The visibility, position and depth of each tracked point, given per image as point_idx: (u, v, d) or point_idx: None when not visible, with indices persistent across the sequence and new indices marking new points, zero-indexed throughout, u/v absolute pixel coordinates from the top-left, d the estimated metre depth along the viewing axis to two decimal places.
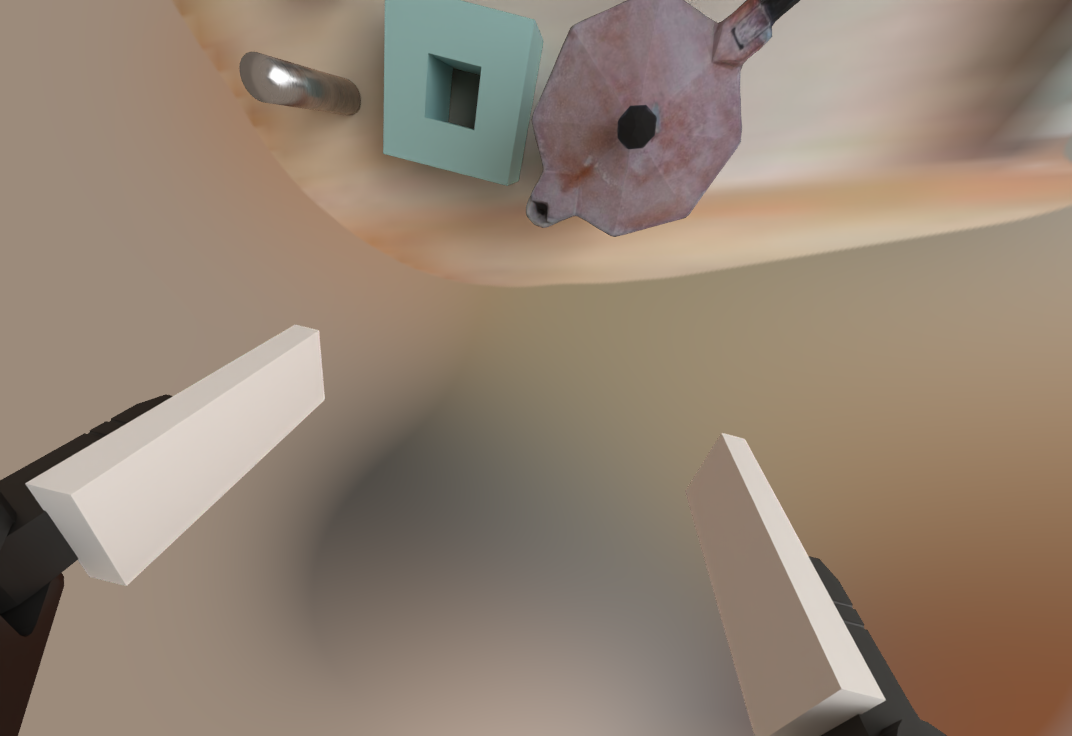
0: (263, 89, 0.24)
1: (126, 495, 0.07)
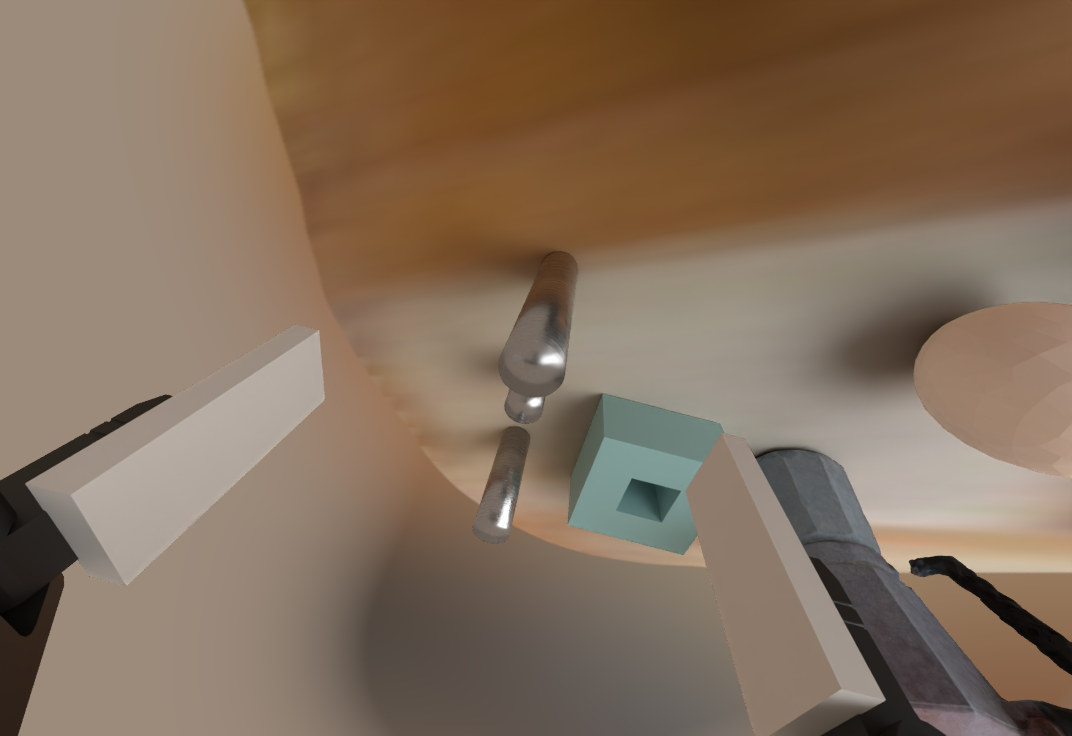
0: (491, 537, 0.27)
1: (126, 495, 0.07)
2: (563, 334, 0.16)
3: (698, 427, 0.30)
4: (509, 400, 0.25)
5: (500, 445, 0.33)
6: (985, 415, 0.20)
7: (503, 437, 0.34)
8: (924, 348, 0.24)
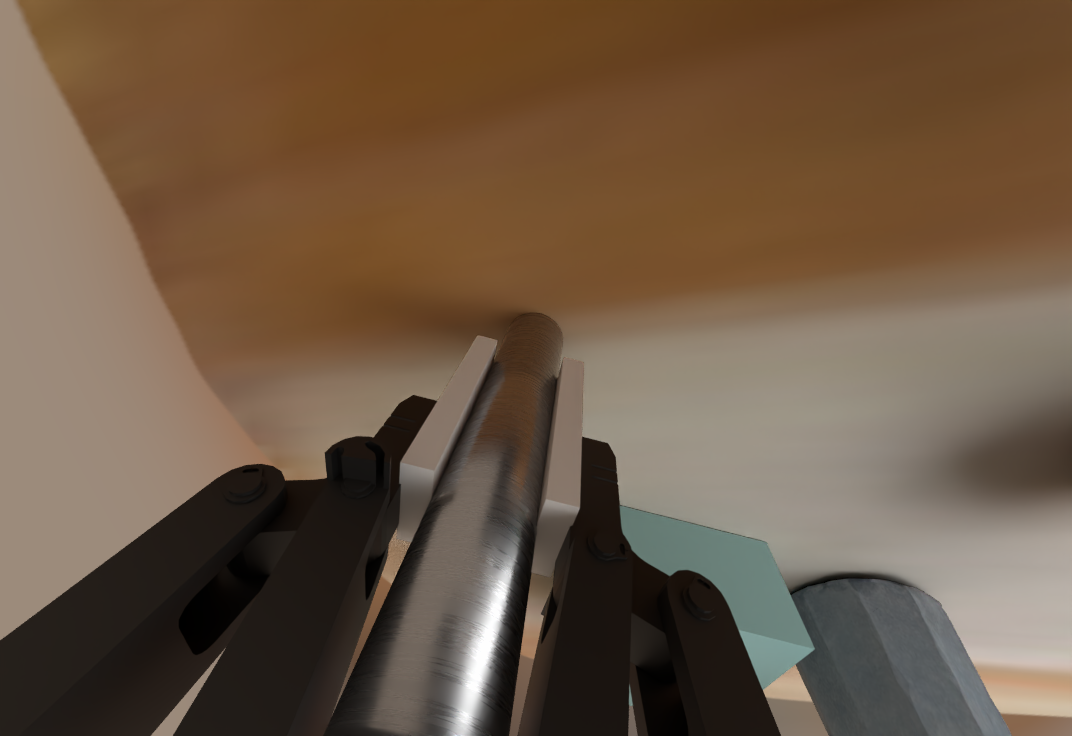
0: None
1: (441, 473, 0.09)
2: (509, 609, 0.06)
3: (739, 555, 0.21)
4: None
5: None
6: None
7: None
8: None
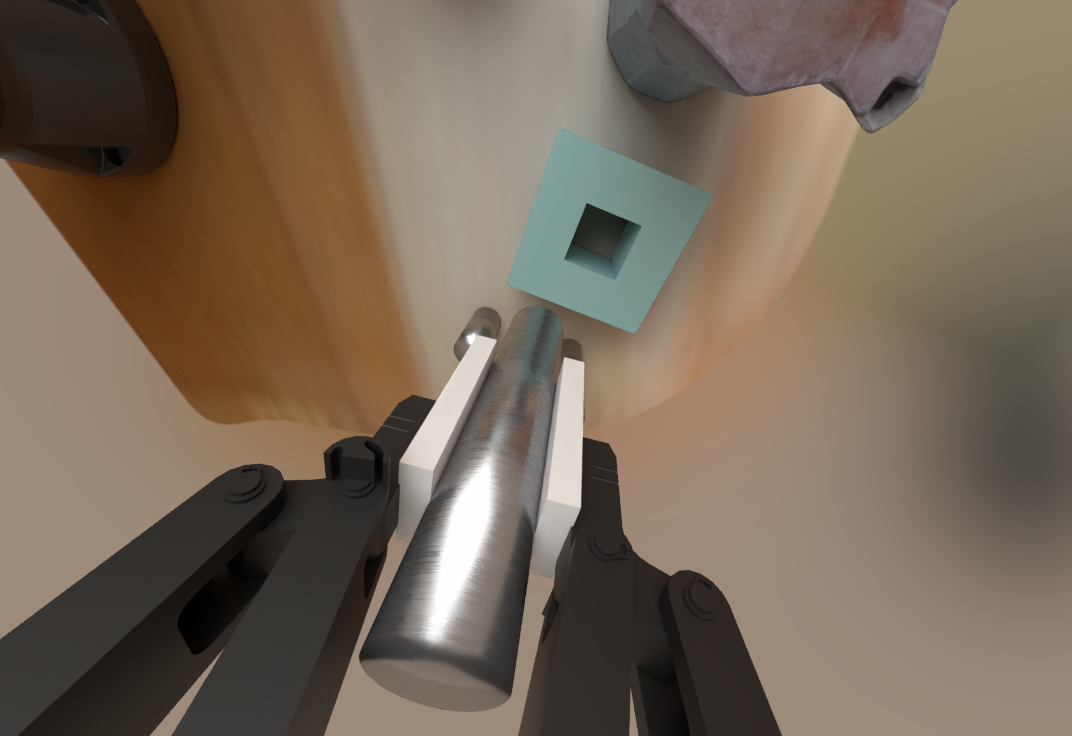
0: None
1: (439, 473, 0.09)
2: (517, 554, 0.07)
3: None
4: None
5: None
6: None
7: None
8: None
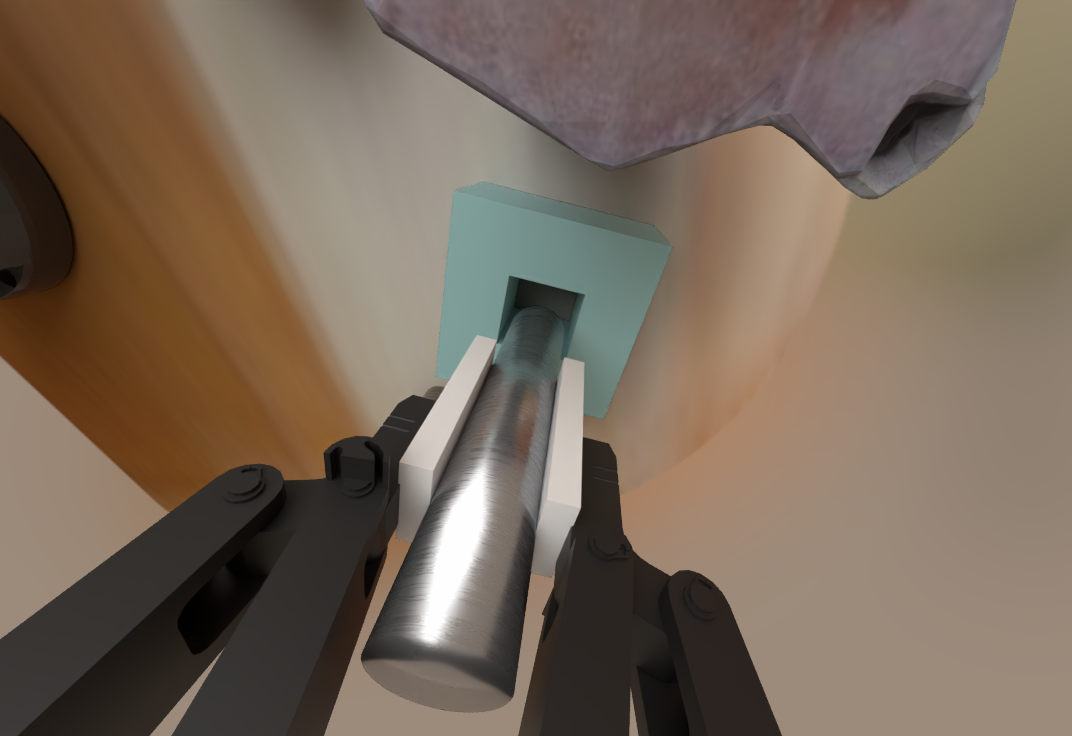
0: None
1: (440, 473, 0.09)
2: (519, 555, 0.07)
3: None
4: None
5: None
6: None
7: None
8: None
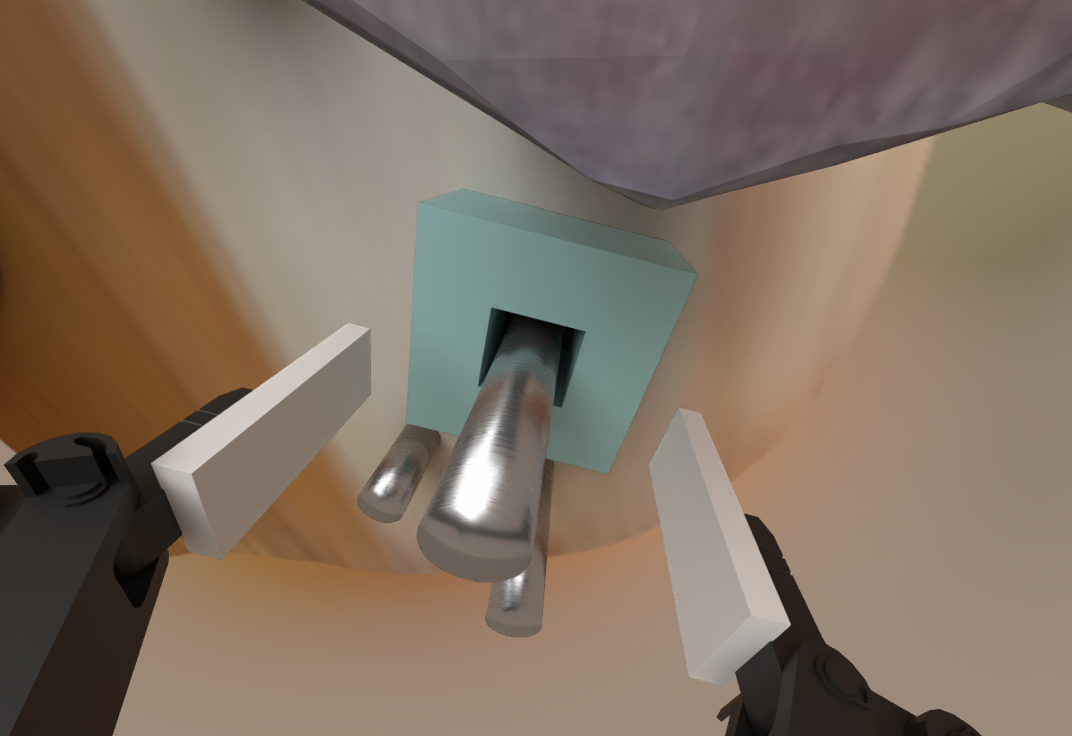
0: (526, 624, 0.17)
1: (227, 476, 0.08)
2: (533, 467, 0.10)
3: None
4: (373, 517, 0.21)
5: None
6: None
7: None
8: None
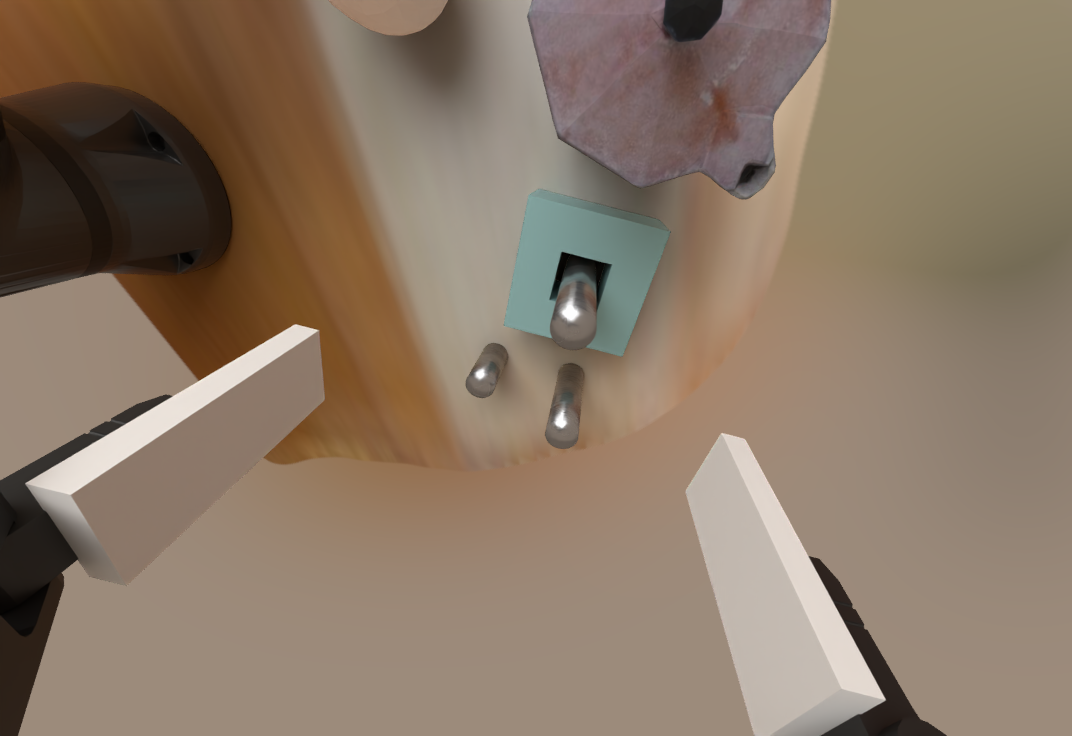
0: (569, 436, 0.30)
1: (126, 495, 0.07)
2: (593, 306, 0.22)
3: None
4: (474, 393, 0.34)
5: None
6: (379, 5, 0.20)
7: None
8: None
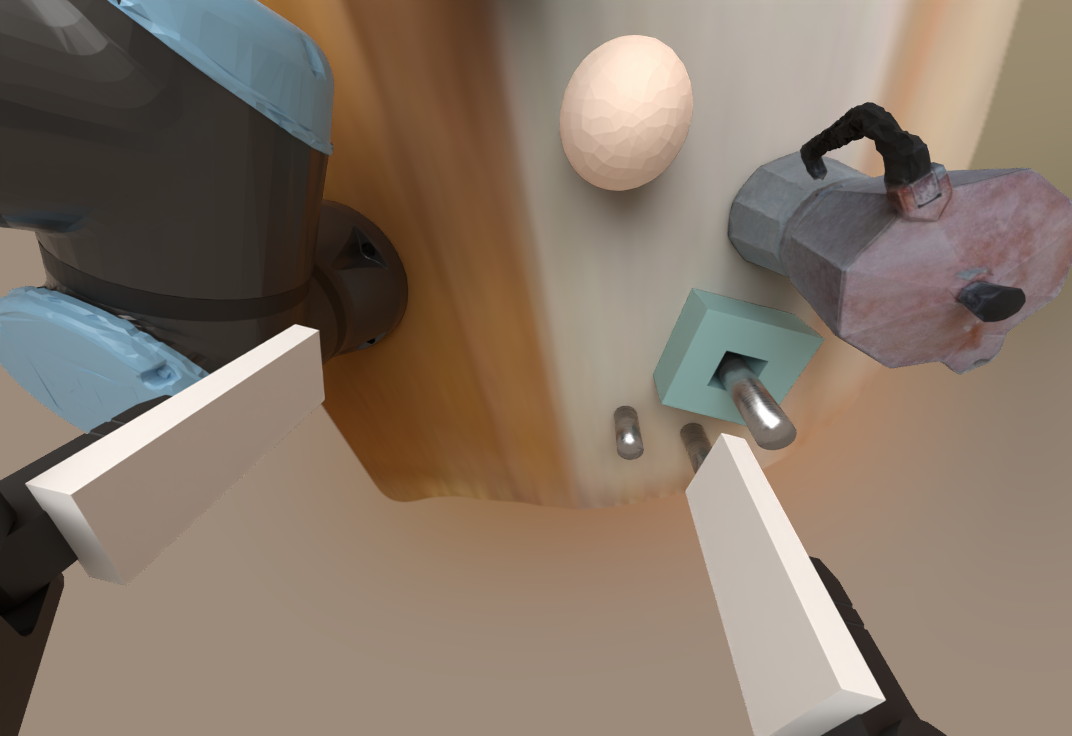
0: None
1: (126, 495, 0.07)
2: None
3: (685, 314, 0.36)
4: (623, 456, 0.40)
5: None
6: (630, 185, 0.26)
7: (684, 443, 0.44)
8: None
